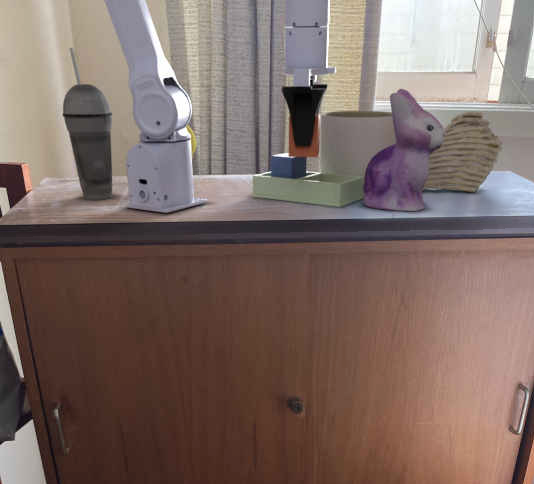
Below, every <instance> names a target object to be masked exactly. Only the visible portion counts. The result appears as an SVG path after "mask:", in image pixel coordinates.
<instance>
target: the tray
mask: <svg viewBox="0 0 534 484" xmlns="http://www.w3.org/2000/svg"><path fill="white" fill-rule="evenodd" d="M364 183H365V177H362V176H361V177H360V176H351V175H341V174H330V173H322V172H320V171H319V172H317V171H309V170H306V176H305V177H301V178H297V179H291V178H281V177H271V170H270V171H266V172H262V173H258V174H254V175H252V197H253V198H260V199H268V200H269V199H270V200H277V201H285V202H293V203H303V204H310V205H319V206H326V207H327V206H328V207H337V208H340V207H343V206H346V205H349V204H351V203H352V204H353V203H355V202H357V201H360V200H363V198H364V193H363V191H362V187H363V184H364Z"/></svg>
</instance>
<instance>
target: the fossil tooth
mask: <svg viewBox="0 0 534 484" xmlns="http://www.w3.org/2000/svg"><path fill="white" fill-rule="evenodd" d="M483 117H484V114H483V112H477V111H468V112H462V113H460V114H457V115H456V116H454V117H452V119H451V120H450V122H449V123H448V124H447V125H446V126H445V128H444V129H445V132H446V134H445V138H444V142H443V144H442V146H441V148H439V149H438V150H436V151H434V152H432V153H431V154H430V156H429V176H428V178H427V180H426V182H425V185H424V187H423V189H422V191H423V190H428V189H429V190H430V189H434V190H439V189H440V190H454V191H460V192H468V193H475V192H477V191H478V190H479V189H480V186H481V185H483V183H484V182H485V181H486V180H487V178H488V177H489V175H490V174H491V172H492V171H493V169H494V165H495V164H497V162H498V160H497V159H498V158H499V156H500V155H499V154H500V153H501V152H502V149H503V147H502V145H503V142H502V141H501V140H499V139H498V137H499V135H495V133H494V132H493V131H492V129H491V128H489V125H490V124H491V123H490V121H489V120H488V119H486V118H483Z"/></svg>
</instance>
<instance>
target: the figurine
mask: <svg viewBox="0 0 534 484" xmlns="http://www.w3.org/2000/svg"><path fill="white" fill-rule="evenodd" d="M389 104H390V110H391V112H392V117H393V124H394V131H395V138H396V143H395V144H394V145H391V146H389V147H387V148H385V149H383V150H381V151H380V152H378V153H377V154H376V155H374V156H373V157H372V159H371V160H370V162H369V164H368V166H367V168H366V172H365V183H364V184H363V187H362V191H363V193H364V198H363V199H362V200H363V205H364V206H365V207H367V208H372V209H378V210H379V209H380V210H387V211H397V212H399V211H402V212H418V211H420V210H424V209H425V207H426V203H425V201H424V198H423V194H422V192H423V190H424V189H423V187H424V185H425V182H426V180H427V178H428V176H429V156H430V154H431V153H432V152H434V151H436V150H438V149H439V148H441V146H442V144H443V142H444V138H445V134H446V132H445V128H444V126H443V125H442V123H441V122H440V121H439V119H438V118H437V117H436V116H434V115H433V114H432V113H431V112H429V111H427V110H425V109H424V108H423V107H422V106H421V105H420V104H419V102H417V100H416V98H415V97H414V96H413V95H412V94H411V92H410V91H408V90H407V89H404V88H399V89H398V90H397V91H396V92H393V93H391V94H390V95H389ZM422 189H423V190H422Z"/></svg>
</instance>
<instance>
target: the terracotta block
mask: <svg viewBox="0 0 534 484" xmlns="http://www.w3.org/2000/svg"><path fill="white" fill-rule="evenodd" d="M320 126H321V113H318V114H316V119H315V126H314V132H313V138H312V142H311V145H310V146H295V142H294V137H293V131H292V124H291V117H290V115H289V116H288V153H289V157H307V158H318V156H319V155H320Z"/></svg>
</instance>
